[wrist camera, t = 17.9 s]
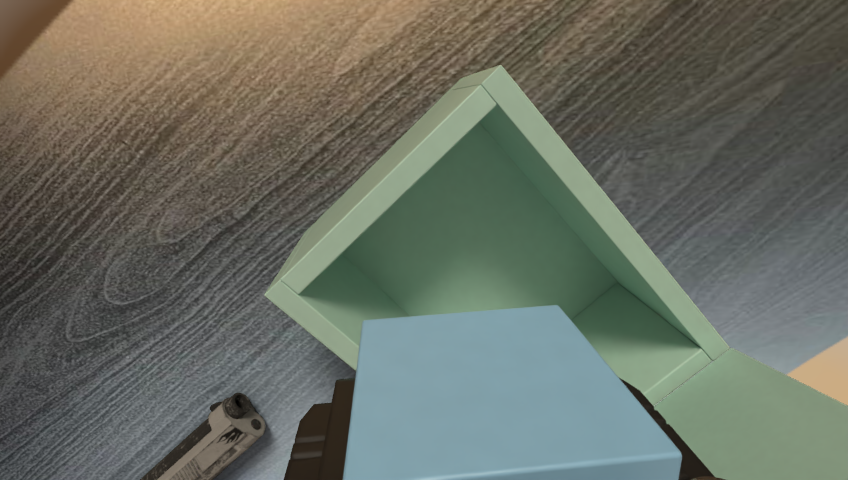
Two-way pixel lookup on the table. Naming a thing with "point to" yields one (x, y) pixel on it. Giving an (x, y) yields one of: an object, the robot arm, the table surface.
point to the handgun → (213, 442)
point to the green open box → (492, 243)
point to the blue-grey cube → (496, 403)
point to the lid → (759, 423)
